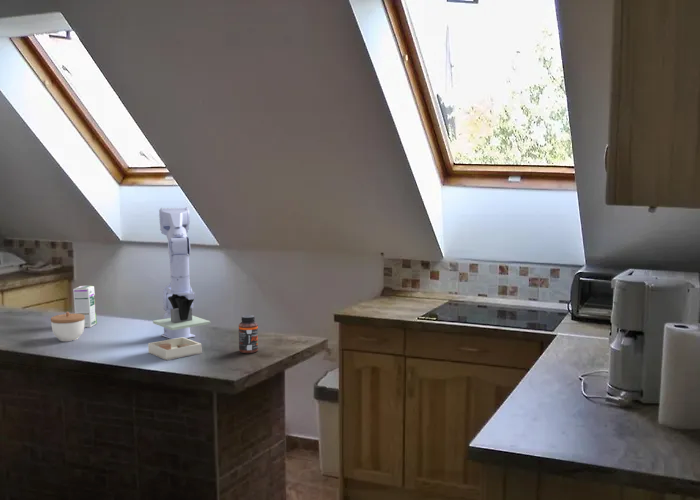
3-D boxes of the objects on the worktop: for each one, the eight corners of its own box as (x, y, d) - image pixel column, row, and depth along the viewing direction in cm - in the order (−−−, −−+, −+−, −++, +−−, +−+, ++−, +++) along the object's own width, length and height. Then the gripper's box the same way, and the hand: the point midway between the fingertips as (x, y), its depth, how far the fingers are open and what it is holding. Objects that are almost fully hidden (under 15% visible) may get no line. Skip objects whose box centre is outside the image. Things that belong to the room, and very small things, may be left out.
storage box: (148, 352, 225) (148, 343, 224) (183, 346, 233) (182, 337, 232) (166, 360, 216) (166, 350, 216) (201, 353, 224) (201, 343, 223)
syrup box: (91, 327, 260) (89, 288, 258) (75, 327, 260) (72, 288, 258) (97, 324, 266) (95, 285, 264) (81, 324, 266) (79, 285, 264)
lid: (153, 323, 226) (152, 308, 225) (190, 317, 234) (189, 302, 234) (172, 330, 216) (171, 314, 215) (210, 323, 224) (210, 308, 224)
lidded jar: (58, 344, 236) (57, 316, 235) (47, 339, 244) (45, 311, 243) (90, 339, 243) (89, 312, 242) (78, 333, 251) (77, 307, 250)
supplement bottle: (254, 354, 222) (253, 318, 221) (236, 353, 223) (235, 317, 222) (260, 349, 228) (260, 314, 226) (242, 348, 229) (242, 313, 228)
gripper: (157, 274, 226) (159, 317, 228) (179, 280, 215) (181, 324, 217) (178, 272, 231) (179, 313, 232) (200, 277, 220) (201, 321, 222)
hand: (181, 319), depth 225 cm, fingers closed on lid, 2 cm apart
